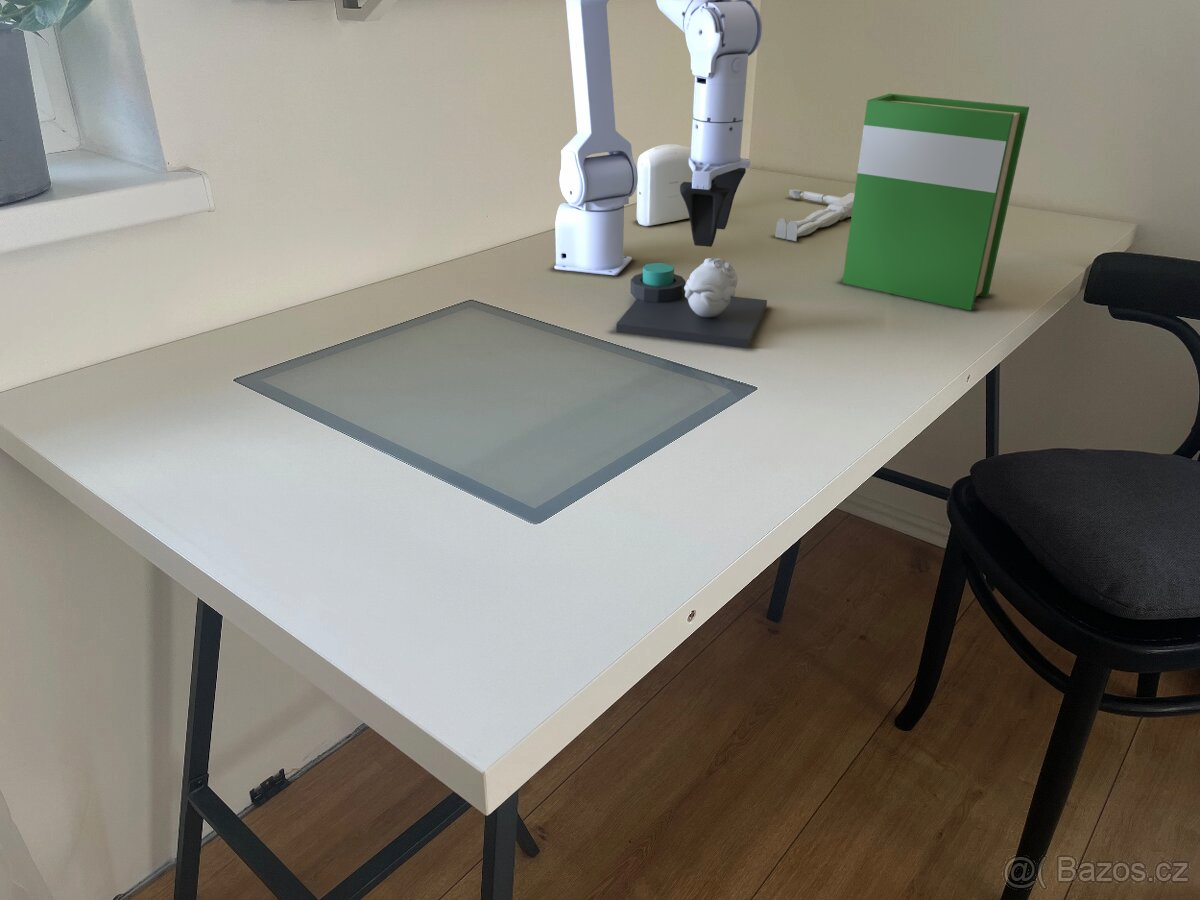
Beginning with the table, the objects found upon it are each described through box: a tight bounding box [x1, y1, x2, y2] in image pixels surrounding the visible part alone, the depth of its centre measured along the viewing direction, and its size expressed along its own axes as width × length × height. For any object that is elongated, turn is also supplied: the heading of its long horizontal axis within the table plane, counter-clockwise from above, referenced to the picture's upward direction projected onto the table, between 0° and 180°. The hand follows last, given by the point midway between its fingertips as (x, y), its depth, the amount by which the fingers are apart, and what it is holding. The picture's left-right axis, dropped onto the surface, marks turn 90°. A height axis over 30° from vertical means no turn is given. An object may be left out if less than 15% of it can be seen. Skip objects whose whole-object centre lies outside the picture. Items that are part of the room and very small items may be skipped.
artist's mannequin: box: [775, 189, 855, 242], centre depth 156 cm, size 27×4×30 cm
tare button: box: [642, 262, 675, 286], centre depth 119 cm, size 4×4×2 cm
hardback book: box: [842, 93, 1030, 311], centre depth 120 cm, size 18×7×24 cm, turn 53°
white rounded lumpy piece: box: [684, 257, 739, 318], centre depth 112 cm, size 6×7×7 cm
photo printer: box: [636, 143, 693, 227], centre depth 153 cm, size 10×4×12 cm, turn 123°
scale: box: [615, 272, 768, 349], centre depth 116 cm, size 17×16×3 cm
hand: (710, 236), depth 111 cm, fingers open, 7 cm apart
